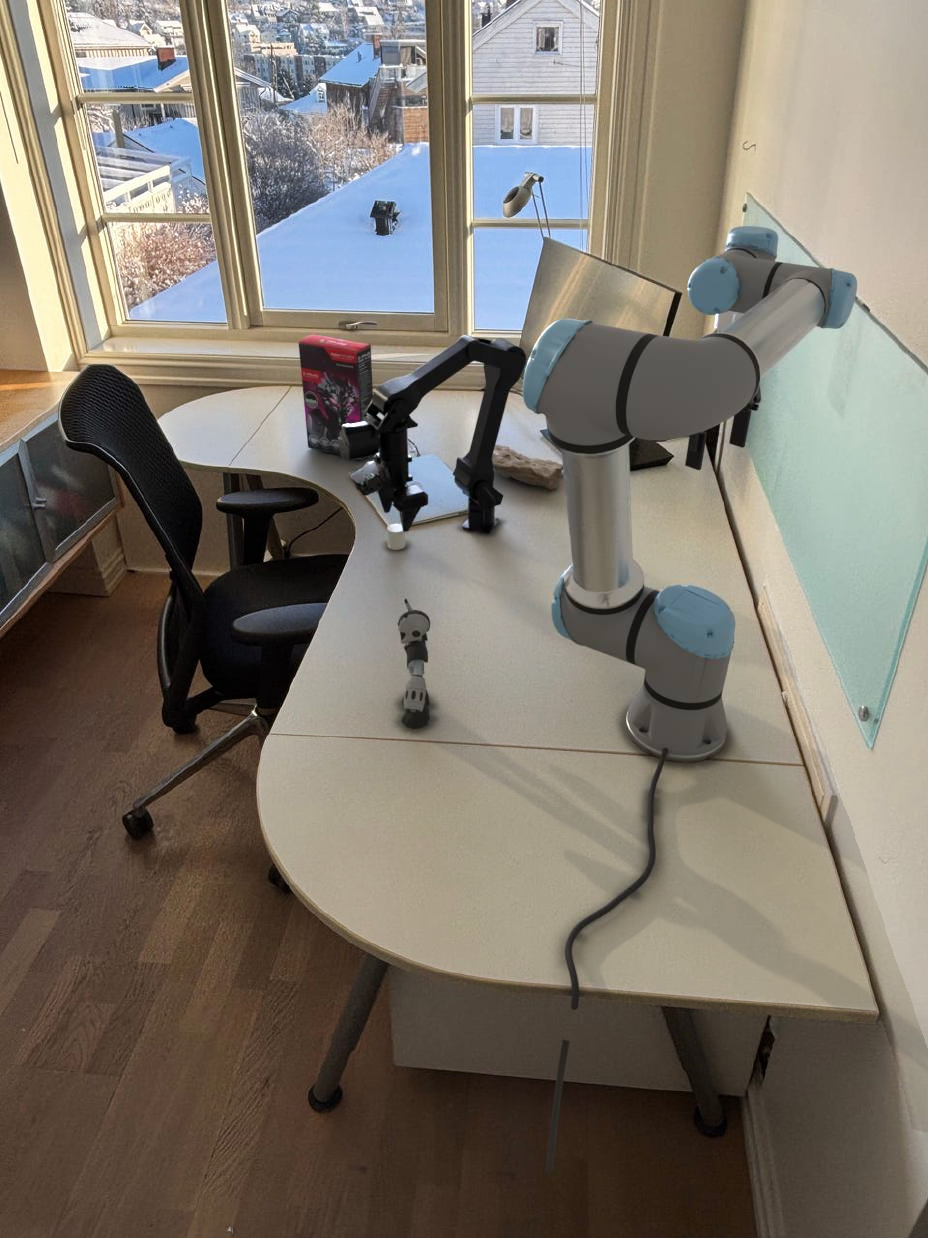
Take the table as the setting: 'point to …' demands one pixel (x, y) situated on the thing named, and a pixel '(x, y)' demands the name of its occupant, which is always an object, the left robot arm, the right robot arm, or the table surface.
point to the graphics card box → (334, 387)
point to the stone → (525, 467)
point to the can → (395, 537)
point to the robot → (415, 666)
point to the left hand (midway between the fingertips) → (396, 521)
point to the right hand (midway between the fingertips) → (715, 456)
